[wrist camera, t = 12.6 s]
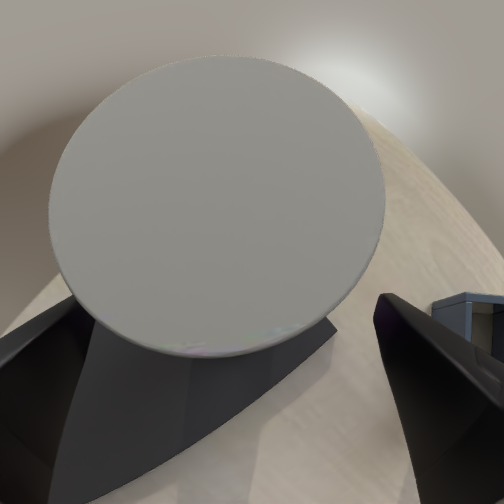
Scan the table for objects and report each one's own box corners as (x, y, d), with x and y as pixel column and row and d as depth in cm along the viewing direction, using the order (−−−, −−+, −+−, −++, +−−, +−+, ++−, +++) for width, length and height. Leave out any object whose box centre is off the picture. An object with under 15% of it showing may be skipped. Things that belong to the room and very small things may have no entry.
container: (292, 328, 17) (456, 259, 3) (218, 360, 17) (91, 425, 3) (259, 258, 19) (287, 30, 4) (188, 288, 18) (37, 120, 4)
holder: (491, 396, 16) (523, 399, 12) (422, 405, 16) (455, 414, 13) (497, 306, 18) (530, 297, 14) (432, 301, 19) (465, 291, 15)
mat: (234, 214, 20) (234, 210, 20) (335, 331, 18) (338, 330, 17) (-16, 422, 15) (-21, 423, 14) (47, 518, 12) (44, 520, 12)
